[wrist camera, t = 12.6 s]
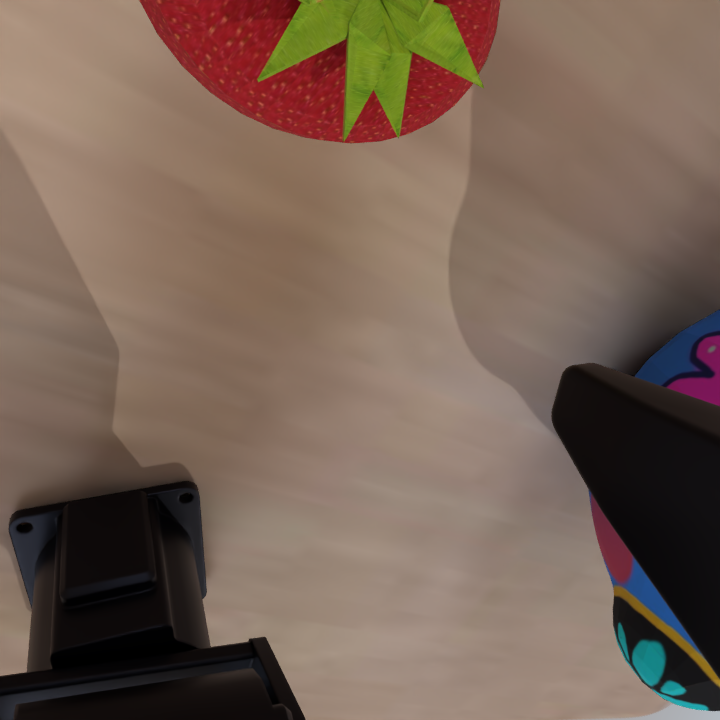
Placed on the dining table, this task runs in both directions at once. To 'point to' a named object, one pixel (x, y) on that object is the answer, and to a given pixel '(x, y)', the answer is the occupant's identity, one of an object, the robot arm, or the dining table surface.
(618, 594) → the ceramic pot
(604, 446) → the robot arm
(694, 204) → the dining table surface
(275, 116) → the strawberry
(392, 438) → the dining table surface
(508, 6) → the dining table surface
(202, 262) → the dining table surface
